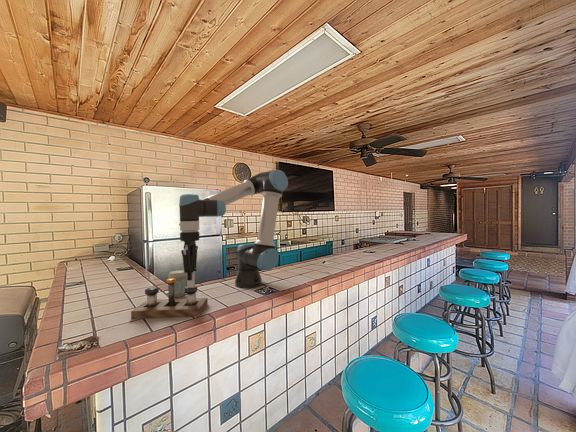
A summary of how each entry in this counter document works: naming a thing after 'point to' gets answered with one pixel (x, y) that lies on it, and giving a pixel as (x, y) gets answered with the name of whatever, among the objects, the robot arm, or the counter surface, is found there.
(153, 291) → the knob
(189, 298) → the knob
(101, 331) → the counter surface
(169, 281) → the dark piece
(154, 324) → the counter surface
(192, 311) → the mount board
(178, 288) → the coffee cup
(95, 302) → the counter surface
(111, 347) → the counter surface
